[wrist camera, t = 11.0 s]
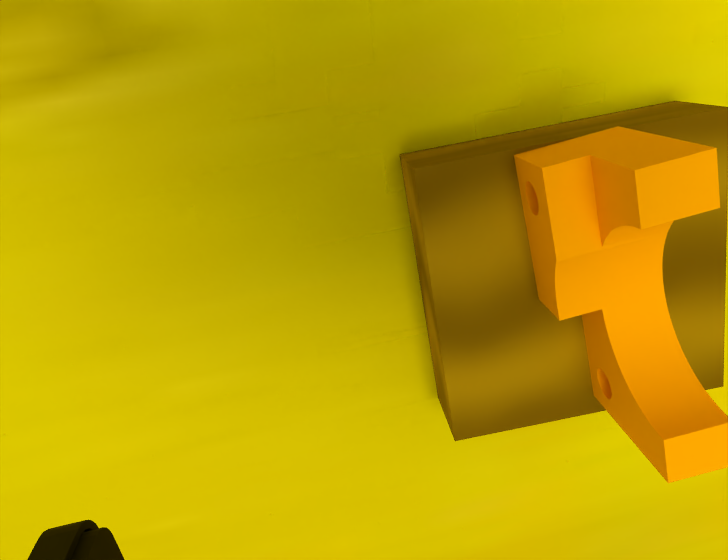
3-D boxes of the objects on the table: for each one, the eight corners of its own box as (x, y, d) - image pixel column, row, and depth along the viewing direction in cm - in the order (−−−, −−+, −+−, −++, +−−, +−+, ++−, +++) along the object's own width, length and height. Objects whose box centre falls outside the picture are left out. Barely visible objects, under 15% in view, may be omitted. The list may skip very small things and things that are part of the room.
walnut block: (399, 154, 29) (413, 168, 25) (674, 101, 29) (729, 107, 25) (438, 397, 33) (455, 440, 30) (676, 349, 34) (723, 386, 30)
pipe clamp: (513, 155, 25) (579, 185, 19) (618, 126, 25) (716, 147, 19) (557, 405, 29) (622, 495, 23) (647, 380, 29) (735, 464, 23)
